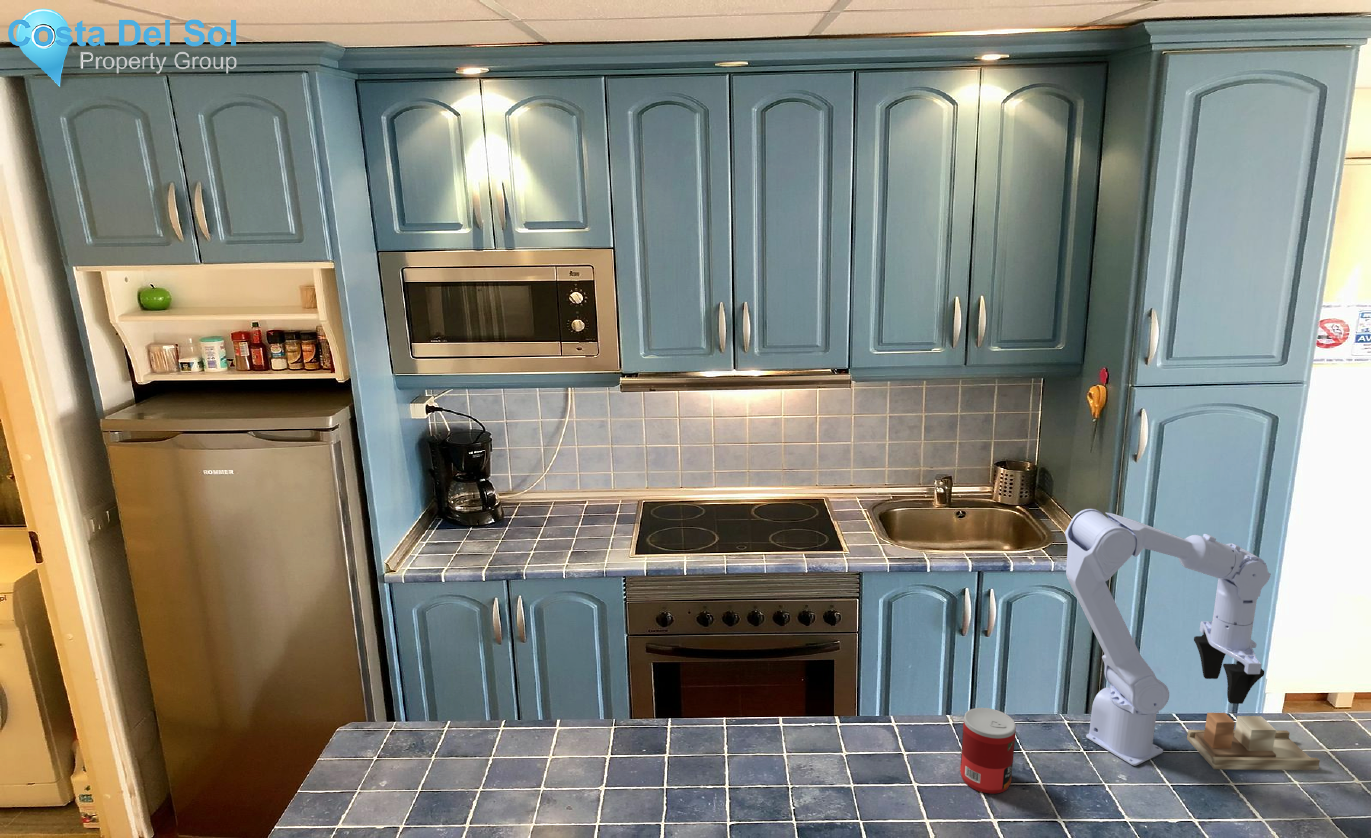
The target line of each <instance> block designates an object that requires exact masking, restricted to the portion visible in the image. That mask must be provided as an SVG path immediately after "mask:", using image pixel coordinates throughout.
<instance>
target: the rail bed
mask: <svg viewBox="0 0 1371 838" xmlns="http://www.w3.org/2000/svg"><path fill="white" fill-rule="evenodd" d="M1204 732H1205V729H1188V730H1187V736H1186V740H1187V741H1188V742H1189V743H1190V744H1191V746H1193V748H1194V749H1195V750H1197V752H1198V753H1199V754H1200V755H1201V756H1202V758H1203V759H1204V760H1205V761H1206V762H1207V763H1208V764H1209V765H1210V766H1211V768H1212V769H1213V770H1251V771H1252V770H1253V771H1254V770H1258V771H1259V770H1261V771H1262V770H1264V771H1265V770H1266V771H1267V770H1269V771H1270V770H1271V771H1274V770H1275V771H1276V770H1277V771H1286V770H1289V771H1318V770H1319V768H1320V762H1321V760H1320V759H1319V758H1318V757H1310V756H1309V755H1308V754H1307V753H1306V752H1304V751H1305V750H1303V749H1302V748H1300V746H1298V745H1297V744H1296V743H1295V742H1294V741H1293V740H1292V739H1290V731H1288V730H1287V729H1286V730H1285V729H1284V730H1283V729H1282V730H1277V729H1276V734H1275V740H1274V745H1273V752H1274V753H1275V754H1276V757H1212V756H1211V755H1210V754H1209V753H1208V752H1207V751H1206V750H1205V749H1204V748H1203V746H1202V745H1201V744H1200V743H1199V742H1198V741H1197V740H1196V739H1195V733H1204ZM1233 733H1235V729H1234V732H1233Z"/></svg>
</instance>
